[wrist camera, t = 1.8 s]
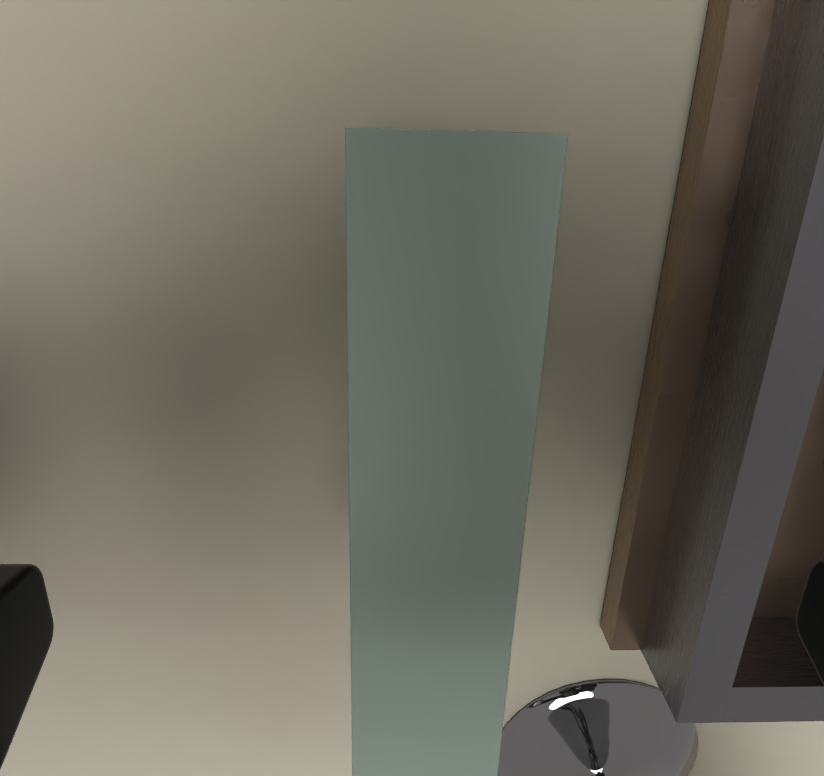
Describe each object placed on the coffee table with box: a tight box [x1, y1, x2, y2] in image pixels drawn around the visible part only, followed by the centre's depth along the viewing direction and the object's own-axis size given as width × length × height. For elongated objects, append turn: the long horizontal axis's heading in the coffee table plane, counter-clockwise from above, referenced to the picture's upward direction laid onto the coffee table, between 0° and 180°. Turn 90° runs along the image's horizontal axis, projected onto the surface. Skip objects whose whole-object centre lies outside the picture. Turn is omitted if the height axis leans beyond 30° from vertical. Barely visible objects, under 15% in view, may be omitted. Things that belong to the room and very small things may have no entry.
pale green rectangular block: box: [345, 128, 568, 776], centre depth 12 cm, size 2×10×8 cm, turn 179°
